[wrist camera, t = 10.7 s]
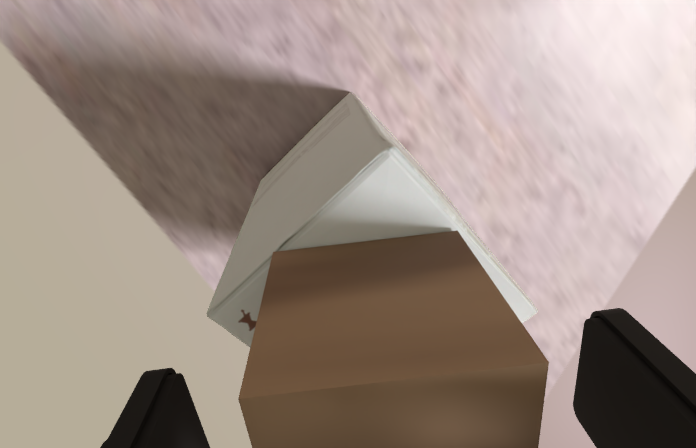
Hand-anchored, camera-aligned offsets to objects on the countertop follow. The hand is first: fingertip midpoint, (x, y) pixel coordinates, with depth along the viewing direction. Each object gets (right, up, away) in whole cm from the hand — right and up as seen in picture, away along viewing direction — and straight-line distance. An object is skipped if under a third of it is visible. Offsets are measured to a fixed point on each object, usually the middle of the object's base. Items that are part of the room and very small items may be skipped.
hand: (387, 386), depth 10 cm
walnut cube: (0, +1, +2) cm, 3 cm away
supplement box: (-1, +6, +14) cm, 16 cm away
